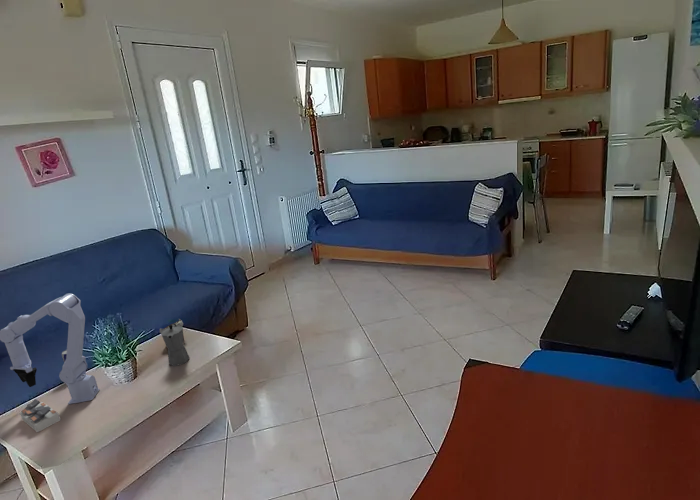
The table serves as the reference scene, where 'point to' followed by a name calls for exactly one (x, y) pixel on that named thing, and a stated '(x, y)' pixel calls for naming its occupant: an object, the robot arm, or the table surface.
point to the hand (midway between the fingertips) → (29, 383)
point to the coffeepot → (175, 345)
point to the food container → (178, 324)
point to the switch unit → (42, 419)
